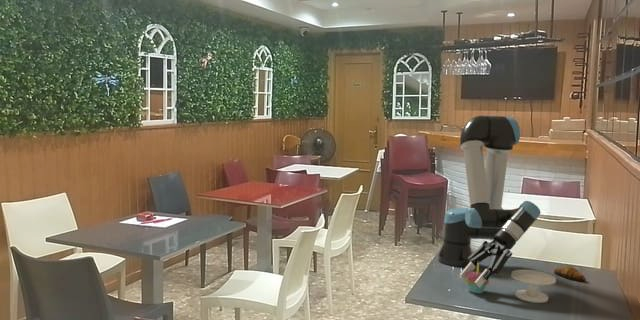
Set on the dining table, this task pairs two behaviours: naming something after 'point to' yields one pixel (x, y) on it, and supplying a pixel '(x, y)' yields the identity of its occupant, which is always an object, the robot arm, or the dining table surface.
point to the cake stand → (532, 284)
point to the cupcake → (471, 281)
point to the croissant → (570, 273)
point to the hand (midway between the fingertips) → (469, 280)
